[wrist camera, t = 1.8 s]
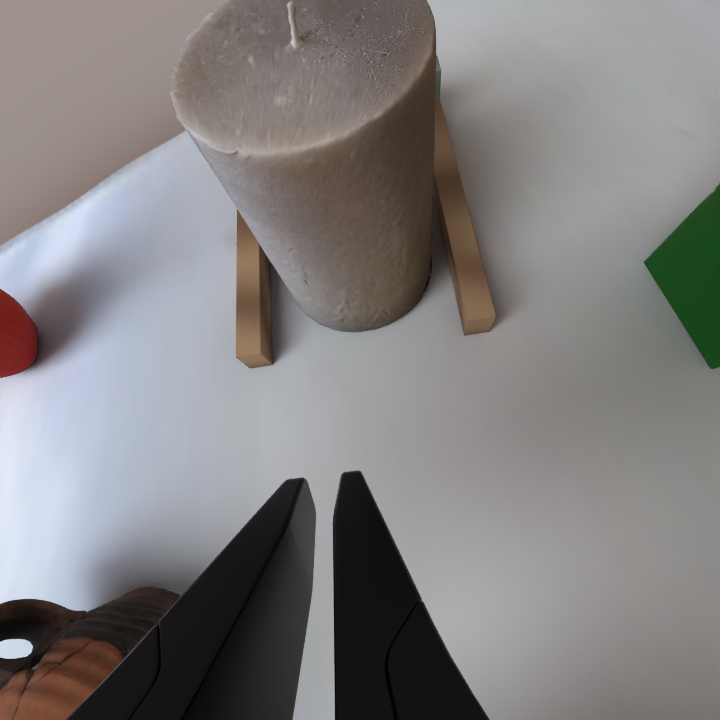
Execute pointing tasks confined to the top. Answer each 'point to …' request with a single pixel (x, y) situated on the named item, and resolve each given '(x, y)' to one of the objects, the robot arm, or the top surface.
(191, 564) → the top surface
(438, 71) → the channel
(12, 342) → the apple
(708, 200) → the milk carton
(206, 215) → the top surface
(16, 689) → the pottery mug
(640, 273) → the top surface
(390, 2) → the pillar candle
